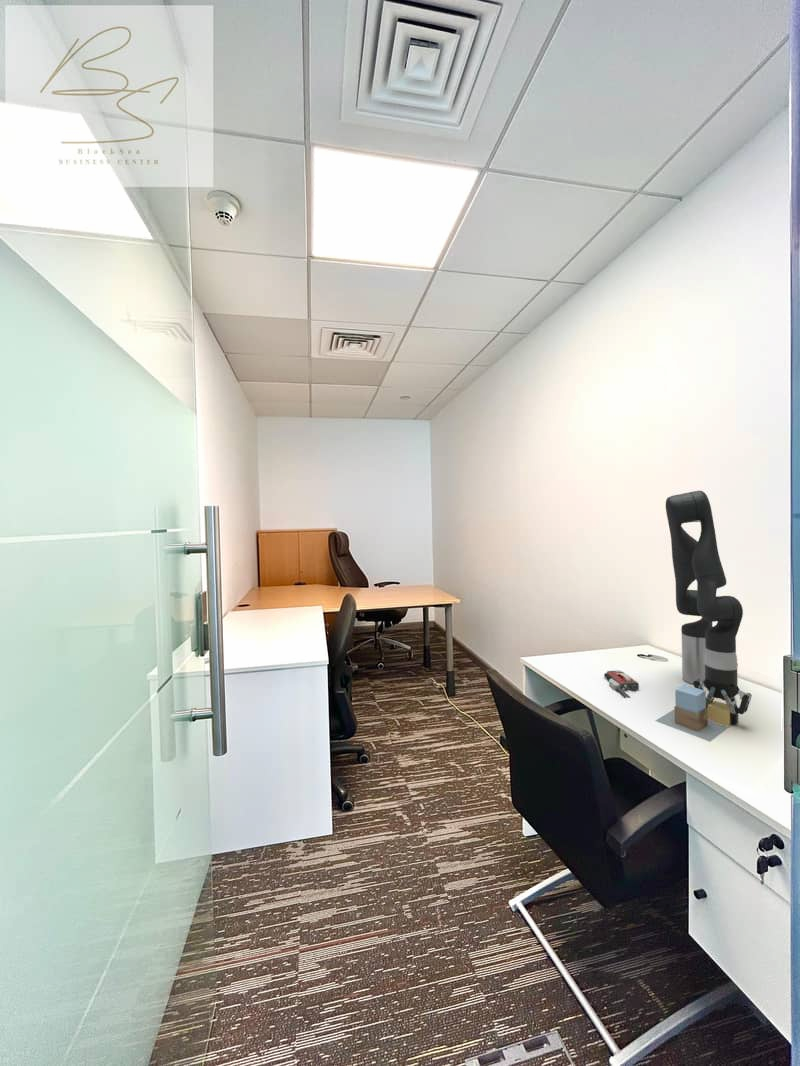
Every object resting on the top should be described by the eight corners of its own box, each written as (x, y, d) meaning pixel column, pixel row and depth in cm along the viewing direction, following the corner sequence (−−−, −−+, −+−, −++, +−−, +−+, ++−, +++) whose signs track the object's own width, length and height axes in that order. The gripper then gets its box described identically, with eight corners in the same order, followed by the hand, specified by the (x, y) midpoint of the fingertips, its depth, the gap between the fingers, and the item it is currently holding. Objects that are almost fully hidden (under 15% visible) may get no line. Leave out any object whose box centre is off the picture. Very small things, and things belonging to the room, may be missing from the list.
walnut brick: (684, 716, 123) (684, 700, 123) (707, 724, 118) (707, 707, 118) (674, 722, 120) (674, 706, 120) (698, 731, 115) (697, 714, 115)
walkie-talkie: (598, 677, 157) (626, 701, 137) (598, 666, 157) (625, 688, 137) (621, 677, 157) (652, 700, 137) (621, 665, 157) (652, 687, 137)
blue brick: (684, 700, 123) (684, 684, 123) (705, 707, 118) (705, 690, 118) (675, 706, 120) (675, 689, 120) (697, 713, 115) (696, 696, 115)
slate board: (675, 711, 128) (675, 708, 128) (729, 730, 116) (729, 727, 116) (655, 723, 122) (655, 720, 122) (710, 745, 110) (710, 741, 110)
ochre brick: (715, 716, 124) (715, 700, 124) (735, 723, 120) (735, 706, 120) (707, 721, 121) (707, 705, 121) (728, 728, 117) (728, 711, 117)
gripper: (686, 660, 124) (688, 715, 125) (746, 675, 112) (747, 735, 113) (698, 654, 128) (699, 708, 129) (756, 668, 116) (757, 727, 116)
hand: (721, 720), depth 121 cm, fingers closed on ochre brick, 5 cm apart
